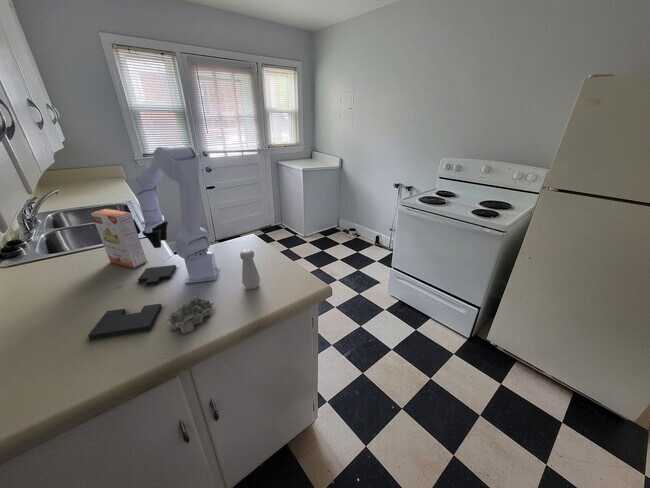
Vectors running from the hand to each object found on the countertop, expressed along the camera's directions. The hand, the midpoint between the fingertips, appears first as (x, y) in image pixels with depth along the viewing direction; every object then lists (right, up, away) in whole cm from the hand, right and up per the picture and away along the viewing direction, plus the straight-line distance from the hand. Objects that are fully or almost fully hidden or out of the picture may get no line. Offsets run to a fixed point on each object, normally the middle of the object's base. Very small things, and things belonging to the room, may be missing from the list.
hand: (160, 243), depth 102 cm
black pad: (+3, -12, -6) cm, 14 cm away
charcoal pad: (+8, -22, -28) cm, 36 cm away
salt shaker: (+38, -14, -12) cm, 43 cm away
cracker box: (-16, -8, +4) cm, 18 cm away
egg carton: (+26, -21, -27) cm, 43 cm away
